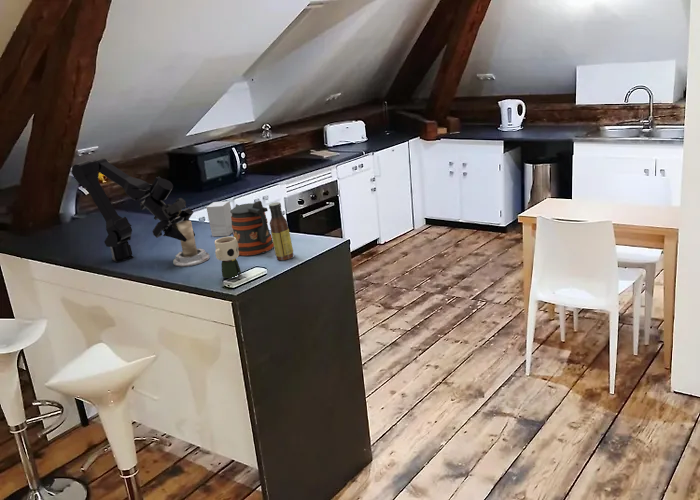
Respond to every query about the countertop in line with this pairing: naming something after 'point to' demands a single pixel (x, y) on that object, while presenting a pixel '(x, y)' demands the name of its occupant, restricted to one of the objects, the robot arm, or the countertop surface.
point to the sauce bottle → (280, 233)
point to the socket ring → (191, 259)
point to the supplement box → (220, 218)
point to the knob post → (190, 244)
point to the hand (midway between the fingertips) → (190, 238)
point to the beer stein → (251, 229)
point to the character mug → (228, 256)
